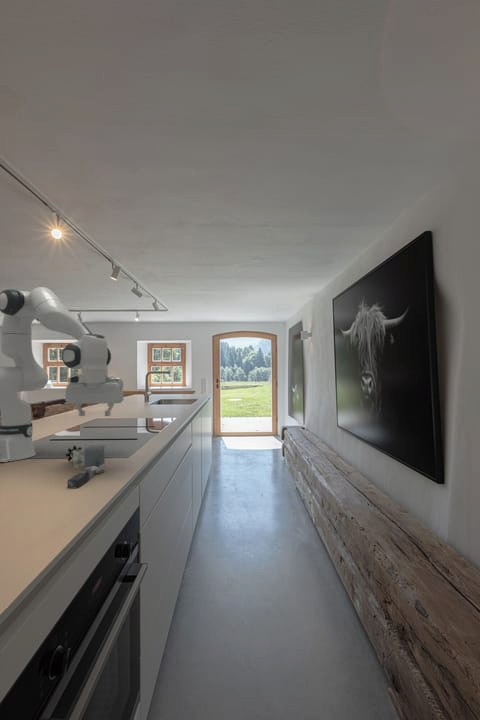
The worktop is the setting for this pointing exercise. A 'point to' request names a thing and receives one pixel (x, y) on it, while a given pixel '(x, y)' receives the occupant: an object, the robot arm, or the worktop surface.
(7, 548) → the worktop surface
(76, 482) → the ratchet
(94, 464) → the plain grey cube
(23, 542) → the worktop surface
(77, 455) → the valve
